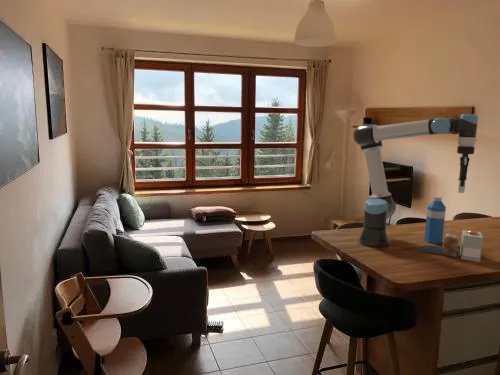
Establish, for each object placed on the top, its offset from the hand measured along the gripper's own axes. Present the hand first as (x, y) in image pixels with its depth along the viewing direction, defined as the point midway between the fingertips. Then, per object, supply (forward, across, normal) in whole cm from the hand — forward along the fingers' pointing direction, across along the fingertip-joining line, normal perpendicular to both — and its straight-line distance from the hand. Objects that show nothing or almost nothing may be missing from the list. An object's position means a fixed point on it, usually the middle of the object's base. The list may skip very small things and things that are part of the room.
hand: (461, 192), depth 202 cm
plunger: (+23, -9, -6) cm, 26 cm away
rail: (+30, -9, +8) cm, 33 cm away
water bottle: (+31, +12, +10) cm, 34 cm away
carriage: (+30, -9, +3) cm, 32 cm away
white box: (+30, -9, -6) cm, 32 cm away
